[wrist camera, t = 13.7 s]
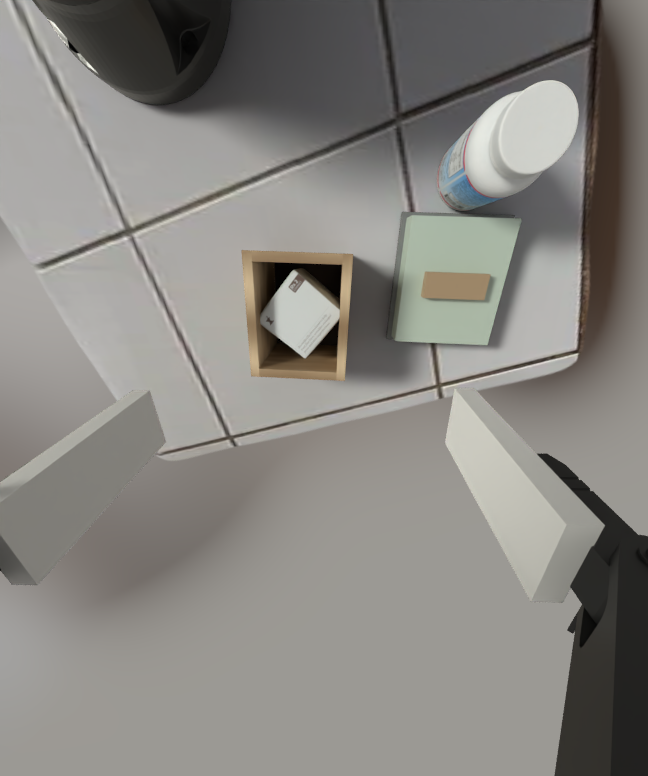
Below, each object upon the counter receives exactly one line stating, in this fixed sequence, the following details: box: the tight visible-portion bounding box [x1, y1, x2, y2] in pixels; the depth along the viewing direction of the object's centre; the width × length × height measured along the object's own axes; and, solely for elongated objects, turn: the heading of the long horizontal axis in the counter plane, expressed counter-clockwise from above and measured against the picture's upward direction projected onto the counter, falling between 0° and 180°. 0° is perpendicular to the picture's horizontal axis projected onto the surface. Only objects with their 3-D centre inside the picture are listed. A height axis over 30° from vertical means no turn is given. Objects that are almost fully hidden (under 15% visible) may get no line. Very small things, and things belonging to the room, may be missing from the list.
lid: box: [391, 215, 522, 345], centre depth 30 cm, size 12×10×4 cm
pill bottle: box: [437, 80, 579, 211], centre depth 23 cm, size 6×6×11 cm
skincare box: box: [260, 268, 340, 359], centre depth 30 cm, size 6×6×7 cm
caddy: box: [242, 250, 353, 381], centre depth 30 cm, size 11×9×9 cm
